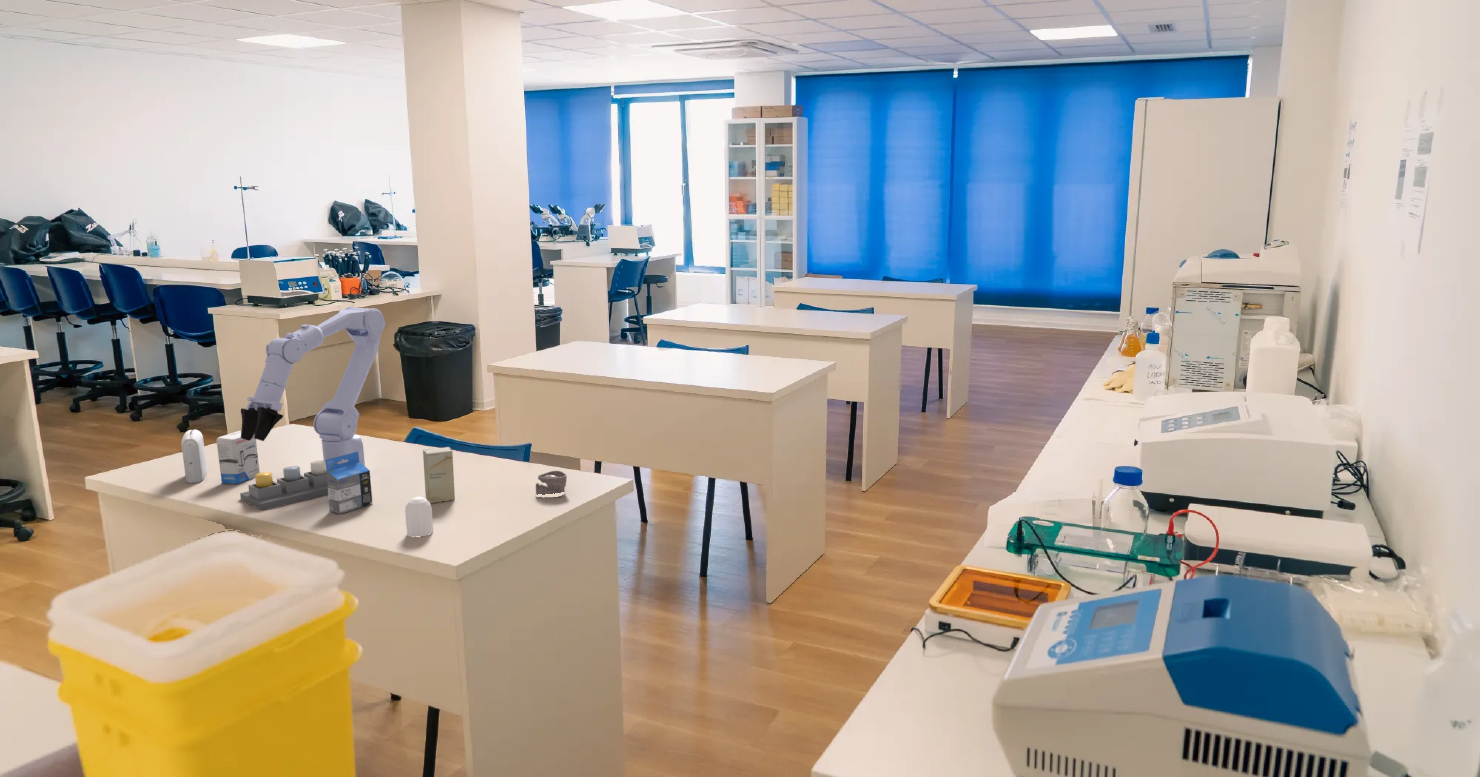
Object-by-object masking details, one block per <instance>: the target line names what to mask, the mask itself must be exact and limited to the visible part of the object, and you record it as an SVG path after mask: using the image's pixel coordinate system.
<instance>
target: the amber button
mask: <svg viewBox="0 0 1480 777" xmlns="http://www.w3.org/2000/svg"><path fill="white" fill-rule="evenodd" d="M254 479H255V484H256V487H257V488H265V487H269V486H273V481H274V479H273V473H272V472H271V471H264V472H263V471H261V472H260V473H258V474H255V477H254Z"/></svg>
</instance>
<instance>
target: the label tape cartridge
mask: <svg viewBox="0 0 1480 777" xmlns="http://www.w3.org/2000/svg"><path fill="white" fill-rule="evenodd" d="M342 459H344V460H347V459H348V462H345V463H341V464H337V462H339V461H341V460H342ZM325 463H326V470H327V471H326V472H327V485H328V494H327V495H328V506H329V512H330V513H334V514H338V515H343V514H345V513H347V512H352V511H355V510H357V509H358V510H359V509H360V508H364V507H367V506H371V505H373V494H372V481H371V471H370V469H369V468H368V467H367V466H364V465H363V464H362V463H360V462H359V455H358V451H357V452H354V453H350V454H346V455H342V456H338V457H335V458H331V459H327V460H325Z"/></svg>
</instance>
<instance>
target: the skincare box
mask: <svg viewBox="0 0 1480 777" xmlns="http://www.w3.org/2000/svg"><path fill="white" fill-rule="evenodd" d="M453 457H454V456H453V450H452V448H451V447H450V446H446V447H437V448H436V447H435V448H428V449H422V459H423V471H424V472H423V473H424V476H423V477H424V488H425V489H424V491H425V499H427V500H428V501H429V503H430V504H434V503H435V502H436V503H442V501H444V502H450V501H449V500H452V501H454V500H453V499H456V497H455V496H456V495H455V479H454V478H455V477H454V476H455V474H454V458H453Z"/></svg>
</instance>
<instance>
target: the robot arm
mask: <svg viewBox="0 0 1480 777" xmlns="http://www.w3.org/2000/svg"><path fill="white" fill-rule="evenodd" d="M386 324H387V323H386V320H385V318H384V315H383V313H382V311H381V310H380V309H378V308H374V307H373V308H366V307H365V308H363V307H354V306H348V307H345V308H344V309H340V310H339V311H338V313H336V314H334V315H333V316H332V317H329V318H328V319H326V320H325V321H322V322H321V323H319V324H318V325H313V324H305V323H304V324H302V325H301V326H300V328H299V329H297V330H296V331H294V332H288V333H286V334H285V336H284V337H276V338H273V339H272V340H271V341H270V342H269V344H266V345H265V354H266V358H265V361H264V362H265V366H264V367H263V370H262V373H261V376H260V378H259V381H258V384H257V386H256V390H255V392H254V395H253V397H251V396H247V401H248V403H247V406H246V408H244V407H243V408H241V409H240V414H241V429H240V431H241V438H242V439H245V440H249V441H250V440H251V439H252V437H253V435H254V438H255V439H256V440H258V441H262V442H265V440H266V439H267V437H268V435H270V433H271V431H272V429H274V427H275V426H276V425H277V423H279V421H280V420H282V419H283V418H284V415H283V414H280V413H279V412H281V410H282V407H283V404H284V403H282V402H281V400H282V397H283V394H284V391H285V389H286V386H287V383H288V381H289V377H290V375H291V372H292V370H293V367H294V365H295V364H294V363H298V362H300V361H301V360H302V359H303V357H304V355H305V354H306V353H309V352H310V351H312V350H314V349H316V348H318V347H320V346H321V345H322V344H324V343H323V342H324V339H325V338H328V337H329V336H332V335H334V334H336V333H338V332H341V331H344V330H345V332H346V334H347V335H348V336H349V338H350V339H351V340H352V341H353V342H354V344H355V347H354V350H353V352H352V354H351V356H350V359H349V361H348V364H347V366H346V367H345V368H346V369H345V371H344V373H343V374H342V377H341V380H340V383H339V385H338V387H337V389H336V391H335V394H334V396H333V398H332V399H331V400H329V401H328V402H326V403H325V404H323V406H322V407H321V409H320V411H319V412H318V413H317V414H316V416H314V419H313V422H312V424H313V425H312V426H313V430H314V431H315V433H317V434H318V435H319V439H321V448H322V456H323V459H322V460H323V461H325V460H327V459H331V458H335V457H338V456H342V455H346V454H350V453H354V452H357V451H358V455H359V462H360V463H362V464H363V465H364V466H365V465H366V464H365V463H366V461H365V451H364V443H363V441H362V440H363V439H362V438H361V437H360V436H359V435H358V434H356V432H357V429H358V420H359V417H360V413H359V411H358V409H357V408H356V407H355V406H356V403H357V401H358V399H359V396H360V393H361V392H362V389H363V387H364V384H365V383H366V380H367V377H368V374H369V372H370V369H371V367H372V365H373V362H374V360H375V359H376V356H377V354H378V351H379V348H380V344H381V337H382V334H383V332H384V329H385V327H386ZM345 462H348V459H347V460H344V459H342V460H341V461H339V462H337V464H341V463H345ZM365 467H366V466H365Z"/></svg>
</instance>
